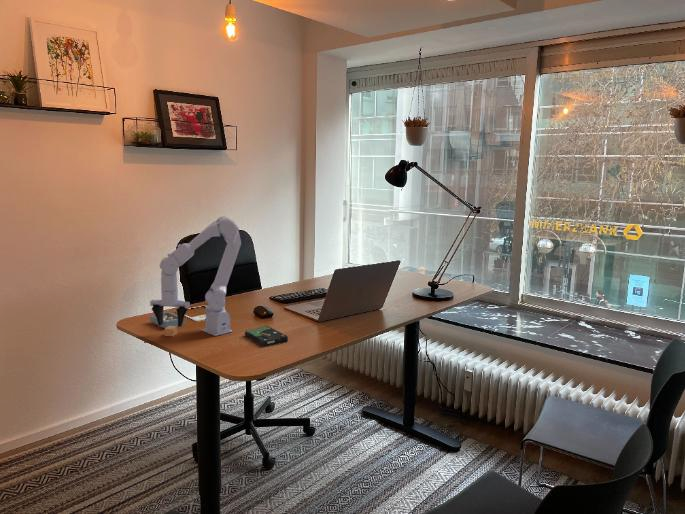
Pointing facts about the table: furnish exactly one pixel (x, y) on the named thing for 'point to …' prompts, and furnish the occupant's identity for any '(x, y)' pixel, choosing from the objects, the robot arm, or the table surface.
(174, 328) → the lid
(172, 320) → the tub
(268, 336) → the disk drive
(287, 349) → the table surface
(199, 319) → the photo frame
